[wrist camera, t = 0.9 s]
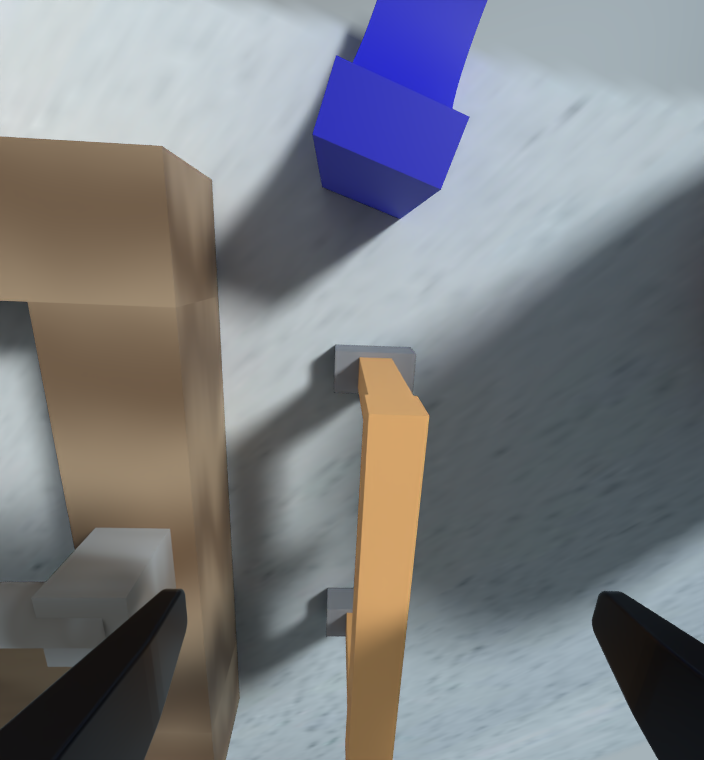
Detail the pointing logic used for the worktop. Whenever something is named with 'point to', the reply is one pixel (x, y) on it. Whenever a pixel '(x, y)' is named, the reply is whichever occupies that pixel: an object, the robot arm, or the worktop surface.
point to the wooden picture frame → (124, 419)
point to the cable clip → (397, 105)
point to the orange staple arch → (380, 541)
